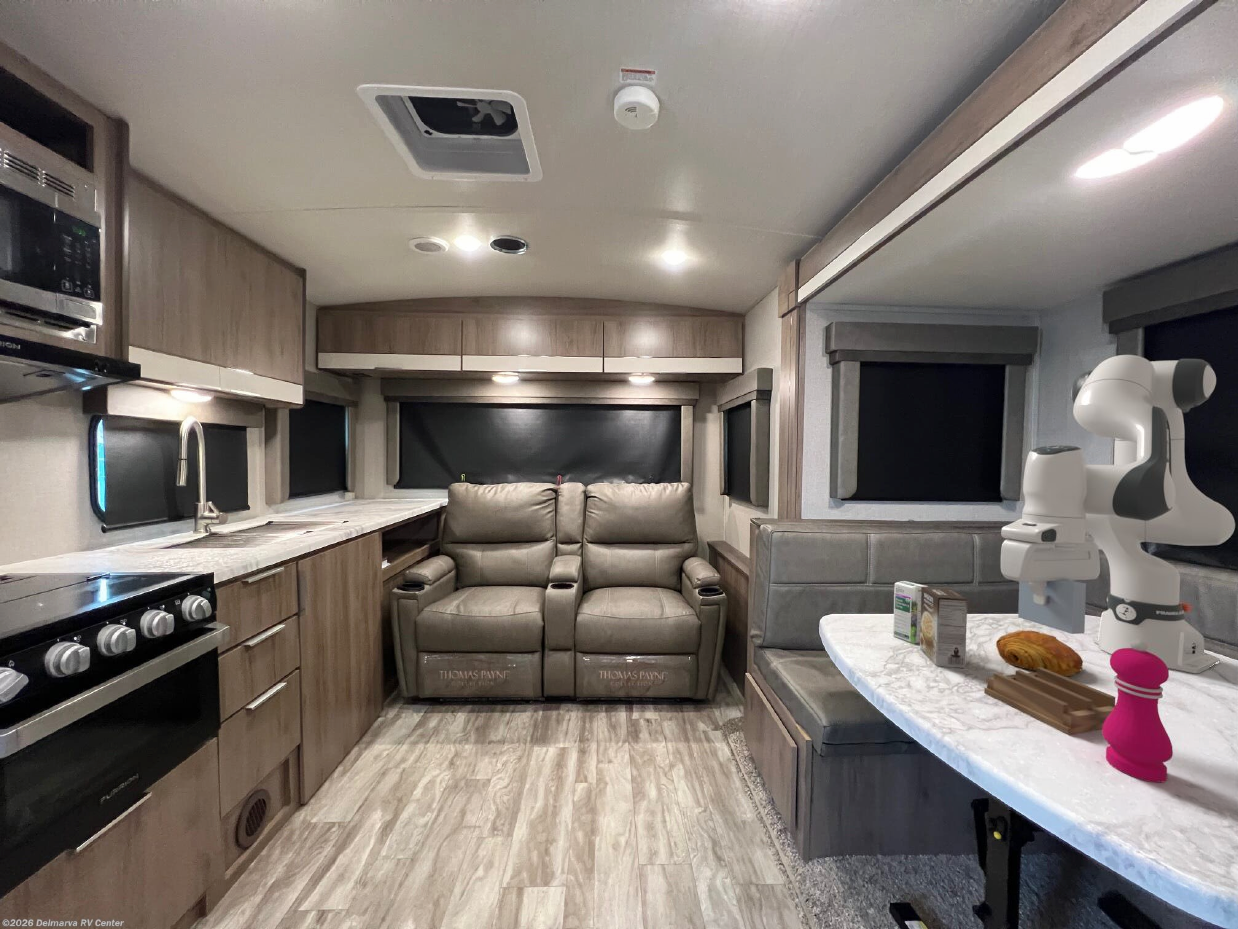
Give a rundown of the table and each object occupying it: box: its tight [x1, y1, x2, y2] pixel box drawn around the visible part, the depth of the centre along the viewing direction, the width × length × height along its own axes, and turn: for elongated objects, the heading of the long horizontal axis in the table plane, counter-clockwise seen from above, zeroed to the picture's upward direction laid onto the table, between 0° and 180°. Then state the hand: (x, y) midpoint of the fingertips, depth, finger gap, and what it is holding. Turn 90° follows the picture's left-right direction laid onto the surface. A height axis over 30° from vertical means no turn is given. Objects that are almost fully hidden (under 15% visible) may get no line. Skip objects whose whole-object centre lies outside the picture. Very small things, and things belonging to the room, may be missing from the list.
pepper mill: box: [1101, 640, 1174, 783], centre depth 71 cm, size 7×7×20 cm
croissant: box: [996, 629, 1084, 677], centre depth 107 cm, size 14×16×8 cm
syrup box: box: [892, 580, 928, 644], centre depth 121 cm, size 6×6×14 cm
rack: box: [983, 667, 1116, 736], centre depth 88 cm, size 14×14×4 cm
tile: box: [1017, 580, 1087, 635], centre depth 87 cm, size 3×9×9 cm, turn 13°
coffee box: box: [919, 586, 968, 669], centre depth 109 cm, size 9×6×16 cm
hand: (1050, 603), depth 87 cm, fingers closed on tile, 3 cm apart
